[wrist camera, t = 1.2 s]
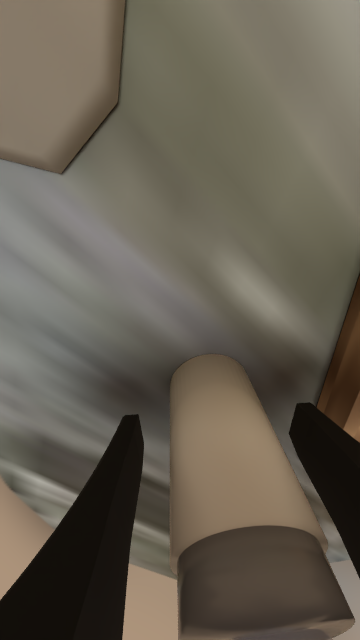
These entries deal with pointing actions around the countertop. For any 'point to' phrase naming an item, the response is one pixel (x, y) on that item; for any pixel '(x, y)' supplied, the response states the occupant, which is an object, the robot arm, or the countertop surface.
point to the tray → (345, 374)
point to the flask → (56, 76)
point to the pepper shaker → (242, 519)
